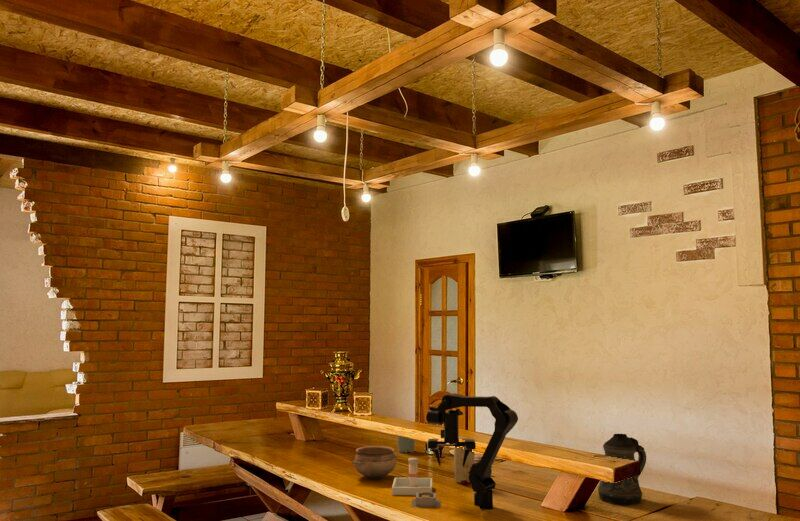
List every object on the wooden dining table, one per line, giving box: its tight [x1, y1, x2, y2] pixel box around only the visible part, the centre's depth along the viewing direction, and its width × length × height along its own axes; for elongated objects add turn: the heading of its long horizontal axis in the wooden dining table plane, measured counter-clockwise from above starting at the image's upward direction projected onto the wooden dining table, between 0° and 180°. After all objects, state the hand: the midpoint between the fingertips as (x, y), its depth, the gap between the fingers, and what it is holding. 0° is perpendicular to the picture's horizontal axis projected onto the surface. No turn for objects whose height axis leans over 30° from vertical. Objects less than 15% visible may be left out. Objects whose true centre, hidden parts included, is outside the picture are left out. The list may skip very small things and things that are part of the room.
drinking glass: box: [397, 435, 416, 453], centre depth 337 cm, size 10×10×12 cm
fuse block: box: [410, 491, 442, 509], centre depth 238 cm, size 11×10×5 cm
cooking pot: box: [351, 445, 398, 480], centre depth 281 cm, size 25×19×12 cm
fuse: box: [407, 457, 420, 487], centre depth 257 cm, size 4×4×12 cm
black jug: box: [597, 433, 647, 506], centre depth 247 cm, size 16×19×25 cm
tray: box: [391, 477, 433, 496], centre depth 257 cm, size 16×16×4 cm
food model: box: [453, 436, 476, 485], centre depth 271 cm, size 10×7×20 cm
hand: (451, 466), depth 246 cm, fingers open, 9 cm apart
